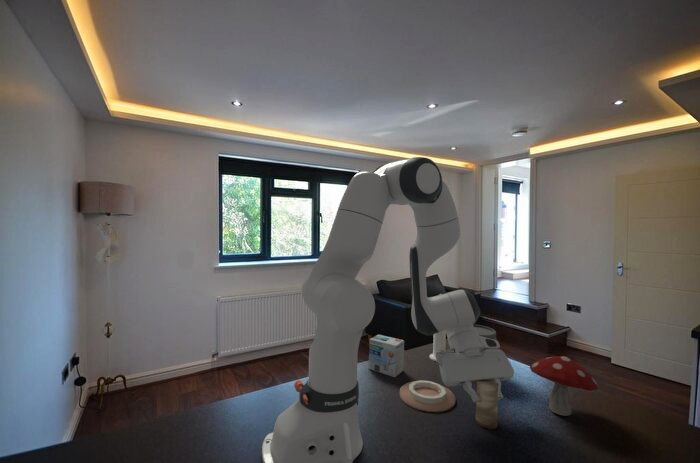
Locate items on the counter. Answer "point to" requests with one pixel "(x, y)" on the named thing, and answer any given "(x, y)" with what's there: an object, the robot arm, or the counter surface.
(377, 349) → the light bulb box
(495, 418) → the beige cylinder
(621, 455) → the counter surface
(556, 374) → the decorative mushroom
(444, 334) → the candle
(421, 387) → the collar dish
